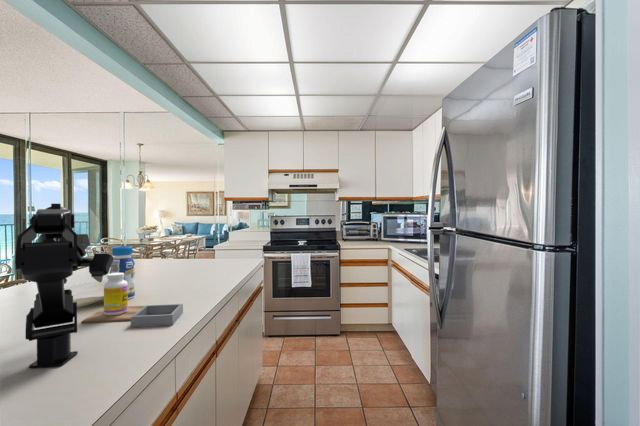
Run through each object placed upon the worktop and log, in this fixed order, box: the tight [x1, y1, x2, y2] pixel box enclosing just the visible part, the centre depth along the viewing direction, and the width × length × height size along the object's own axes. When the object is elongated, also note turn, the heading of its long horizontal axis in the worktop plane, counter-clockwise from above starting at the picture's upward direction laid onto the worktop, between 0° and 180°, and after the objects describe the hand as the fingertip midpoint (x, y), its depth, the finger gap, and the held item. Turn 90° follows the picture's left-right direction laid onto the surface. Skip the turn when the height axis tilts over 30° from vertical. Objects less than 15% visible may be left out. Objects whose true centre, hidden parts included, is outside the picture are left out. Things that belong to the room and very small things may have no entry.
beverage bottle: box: [109, 245, 136, 300], centre depth 126 cm, size 8×8×20 cm
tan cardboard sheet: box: [81, 305, 145, 324], centre depth 106 cm, size 14×14×1 cm
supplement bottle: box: [103, 273, 129, 316], centre depth 106 cm, size 7×7×13 cm
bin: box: [130, 303, 184, 328], centre depth 101 cm, size 12×12×3 cm
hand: (83, 281), depth 94 cm, fingers open, 9 cm apart
